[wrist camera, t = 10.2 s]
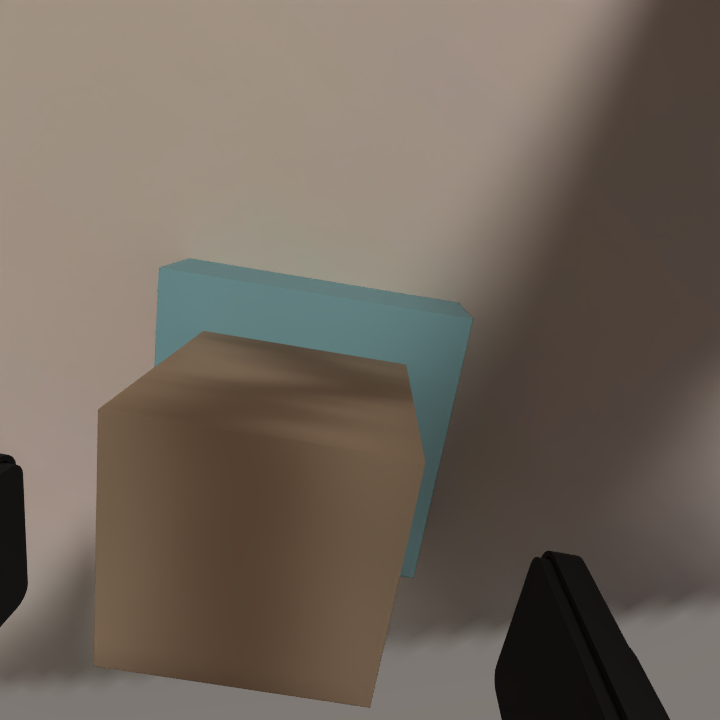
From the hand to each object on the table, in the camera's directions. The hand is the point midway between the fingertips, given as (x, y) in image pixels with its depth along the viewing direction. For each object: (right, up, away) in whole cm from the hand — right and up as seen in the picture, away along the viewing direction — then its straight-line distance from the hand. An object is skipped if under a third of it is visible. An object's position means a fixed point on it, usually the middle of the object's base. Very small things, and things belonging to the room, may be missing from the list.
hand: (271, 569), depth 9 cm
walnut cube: (0, +1, +7) cm, 7 cm away
